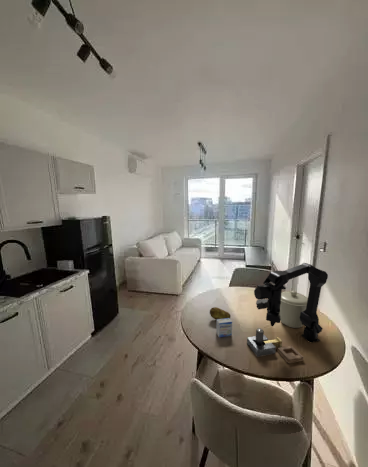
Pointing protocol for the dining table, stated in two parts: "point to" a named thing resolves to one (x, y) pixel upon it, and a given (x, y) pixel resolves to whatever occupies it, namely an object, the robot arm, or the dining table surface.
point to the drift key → (274, 342)
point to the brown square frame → (290, 354)
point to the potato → (219, 313)
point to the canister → (292, 308)
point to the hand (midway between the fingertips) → (272, 325)
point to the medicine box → (224, 327)
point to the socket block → (261, 347)
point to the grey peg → (259, 337)
